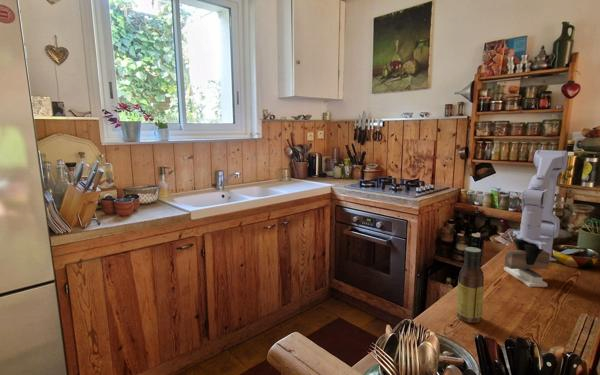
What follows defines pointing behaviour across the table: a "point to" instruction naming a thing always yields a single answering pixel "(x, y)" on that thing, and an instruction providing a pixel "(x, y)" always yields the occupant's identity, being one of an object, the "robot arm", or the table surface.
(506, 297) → the table surface
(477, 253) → the sauce bottle
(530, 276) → the ridge stand
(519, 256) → the walnut batten
